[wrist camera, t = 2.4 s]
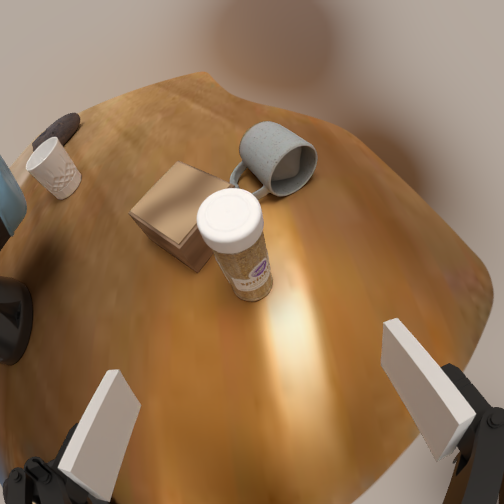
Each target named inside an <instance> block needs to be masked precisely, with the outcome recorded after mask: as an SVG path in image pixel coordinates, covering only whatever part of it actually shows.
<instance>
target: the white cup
mask: <svg viewBox="0 0 504 504" xmlns="http://www.w3.org/2000/svg"><path fill="white" fill-rule="evenodd" d="M26 170H27V171H28V172H29V173H30V174H31V175H32V176H33V177H34V178H35V179H36V180H37V181H38V182H39V183H40V184H41V185H43V186H44V187H45V188H46V189H47V190H48V191H50V192H51V193H52V194H53V195H54V196H55V197H56V198H57V199H61V200H63V199H65V198H67V197H69V196H70V195H71V194H72V193H73V192H74V191H75V190H76V189H77V187H78V186H79V184H80V181H81V174H80V172H79V171H78V170H77V168H76V167H75V164H74V163H73V161H72V160H71V158H70V157H69V155H68V153H67V152H66V150H65V149H64V147H63V146H62V144H61V143H60V141H59V140H58V138H57V137H52V138H49V139H48V140H46V141H45V142H43V143H42V144H41V145H40V146H39V147H38V148H37V149H36V150H35V151H34V152H33V154H32V155H31V157H30V158H29V160H28V162H27V165H26Z"/></svg>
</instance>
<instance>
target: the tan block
mask: <svg viewBox="0 0 504 504" xmlns="http://www.w3.org/2000/svg"><path fill="white" fill-rule="evenodd" d="M227 188H235V185H233V184H231V183H229V182H226V181H224V180H222V179H220V178H218V177H215V176H213V175H211V174H208V173H206V172H204V171H202V170H199V169H197V168H195V167H192V166H190V165H187V164H185V163H183V162H180V161H177V162H176V163H175V164H174V165H173V166H172V167H171V168H170V169H169V170H168V171H167V172H166V173H165V174H164V175H163V176H162V177H161V178H160V179H159V180H158V181H157V182H156V183H155V185H154V186H153V187H152V188H151V189H150V190H149V191H148V192H147V193H146V194H145V195H144V196H143V197H142V198H141V199H140V201H139V202H138V203H137V204H136V205H135V206H134V207H133V208H132V209H131V211H130V212H129V213H128V214H129V215H130V216H131V217H132V218H133V220H134V221H135V222H136V223H137V224H138V226H139V227H140V228H141V229H142V230H143V232H144V233H145V234H146V235H147V236H148V237H149V239H151V240H152V241H154V242H155V243H156V244H158V245H159V246H160V247H162V248H163V249H165V250H166V251H167V252H169V253H170V254H172V255H173V256H174V257H176V258H177V259H179V260H180V261H182V262H183V263H184V264H186V265H187V266H189V267H190V268H192V269H193V270H194V271H196V272H197V273H198V272H199V271H200V270H201V268H202V267H203V266H204V264H205V263H206V262H207V261H208V259H209V258H210V257H211V256H212V254H213V250H212V249H211V248H210V247H209V246H208V245H207V244H206V242H205V241H204V239H203V237H202V235H201V233H200V231H199V229H198V226H197V213H198V210H199V207H200V206H201V204H202V203H203V202H204V200H205V199H206V198H207V197H209V196H210V195H212V194H213V193H215V192H217V191H220V190H223V189H227Z"/></svg>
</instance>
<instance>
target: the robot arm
mask: <svg viewBox="0 0 504 504" xmlns="http://www.w3.org/2000/svg"><path fill="white" fill-rule="evenodd" d="M26 211H27V204H26V200H25V197H24V195H23V193H22V191H21V189H20V187H19V185H18V183H17V181H16V180H15V178H14V176H13V174H12V173H11V171H10V169H9V168H8V166H7V165H6V163H5V161H4V160H3V158H2V157H1V155H0V251H1V249H2V248H3V246H4V245H5V244H6V242H7V241H8V239H9V238H10V237H11V236H13V235H14V231H15V230H16V228H17V227H18V226H19V224H20V223H21V221H22V220H23V219H24V217H25V215H26ZM32 315H33V311H32V300H31V296H30V293H29V290H28V289H27V287H26V286H25V285H24V284H23V283H21V282H19V281H18V280H16V279H14V278H10V277H3V276H0V363H2V364H6V365H12V364H14V363H16V362H17V361H18V360H19V359H20V358H21V356H22V355H23V353H24V351H25V349H26V346H27V344H28V341H29V337H30V333H31V327H32ZM381 366H382V368H383V369H384V371H385V372H386V374H387V376H388V377H389V379H390V381H391V382H392V384H393V386H394V387H395V389H396V391H397V392H398V394H399V396H400V397H401V399H402V401H403V403H404V404H405V406H406V408H407V409H408V411H409V413H410V415H411V416H412V418H413V420H414V422H415V423H416V425H417V427H418V429H419V431H420V432H421V434H422V436H423V438H424V440H425V441H426V443H427V445H428V447H429V449H430V451H431V452H432V454H433V456H434V458H435V460H436V462H437V461H439V460H441V459H443V458H445V457H447V456H448V455H450V454H452V453H453V451H454V450H455V448H456V447H458V449H459V450H460V452H459V453H458V455H457V456H456V457H455V459H454V461H453V463H455V462H456V461H457V462H456V465H455V469H454V472H453V476H452V478H451V482H450V485H449V487H448V491H447V493H446V496H445V499H444V501H443V504H496V503H497V499H498V495H499V504H504V409H502V408H499V407H494V408H493V407H491V406H490V405H489V404H488V403H487V401H486V400H485V399H484V397H483V396H482V395H481V394H480V393H479V391H478V390H477V389H476V388H475V386H474V385H473V384H471V382H470V380H469V379H468V378H466V376H465V375H464V373H463V372H462V371H461V370H460V369H459V368H458V367H456V366H454V365H452V364H450V363H448V364H446V365H444V366H442V367H439V366H438V364H437V363H436V362H435V361H434V360H433V358H432V357H431V356H430V355H429V354H428V352H427V351H426V350H425V349H424V348H423V347H422V345H421V344H420V343H419V342H418V341H417V340H416V338H415V337H414V336H413V335H412V334H411V333H410V332H409V331H408V329H407V328H406V327H405V326H404V325H403V324H402V323H401V322H400V320H399V319H398V318H395V319H392V320H389V321H386V322H383V341H382V356H381ZM140 407H141V404H140V403H139V401H138V400H137V398H136V396H135V395H134V393H133V392H132V390H131V389H130V387H129V385H128V384H127V382H126V380H125V379H124V377H123V375H122V374H121V372H120V370H108V371H107V372H106V374H105V376H104V378H103V379H102V381H101V383H100V385H99V387H98V388H97V390H96V392H95V394H94V396H93V397H92V399H91V401H90V403H89V405H88V407H87V409H86V411H85V413H84V414H83V416H82V418H81V420H80V422H79V424H78V423H76V424H75V425H74V426H73V427H72V428H71V429H70V430H69V432H68V434H67V436H66V439H65V440H64V442H63V446H61V448H60V450H59V452H58V454H57V456H56V459H55V461H54V463H53V465H52V467H49V466H48V465H47V464H46V463H45V462H44V461H43V460H42V459H41V458H39V457H32V458H30V459H28V460H27V462H26V463H25V465H24V470H23V469H22V468H19V467H17V468H14V469H13V470H12V471H11V473H10V475H9V481H8V495H7V504H33V502H34V503H35V504H92V501H91V500H90V498H88V494H89V493H90V494H91V495H92V496H94V497H95V498H97V499H100V500H104V501H108V502H110V499H111V496H112V492H113V489H114V486H115V482H116V479H117V476H118V473H119V469H120V466H121V463H122V460H123V457H124V454H125V451H126V448H127V445H128V442H129V439H130V436H131V433H132V430H133V427H134V424H135V422H136V419H137V416H138V413H139V410H140Z"/></svg>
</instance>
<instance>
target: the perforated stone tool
mask: <svg viewBox="0 0 504 504" xmlns="http://www.w3.org/2000/svg"><path fill="white" fill-rule="evenodd" d="M79 124H80V117H79V115H78V114H76V113H70V114H67V115H65V116H63V117H61V118H60V119H58V120H57V121H55V122H54V123H53V124H52V125H50V126H49V127H48V128H47V129H46V130H45V131H44V132H43V133H42V134H41V135H40V136H39V137H38V138H37V139H36V140H35V141H34V142H33V143H32V146H33V152H34V151H35V150H36V149H37V148H38V147H39V146H40V145H41V144H42V143H43V142H45V141H46V140H48V139H49V138H52V137H57V138H58V140H59V141H60V143H61V144H62V146H63V145H64V144H65V143H66V142H67V141H68V140H69V139H70V138H71V136H72V135H73V134H74V133H75V131H76V130H77V128H78V127H79Z"/></svg>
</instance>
